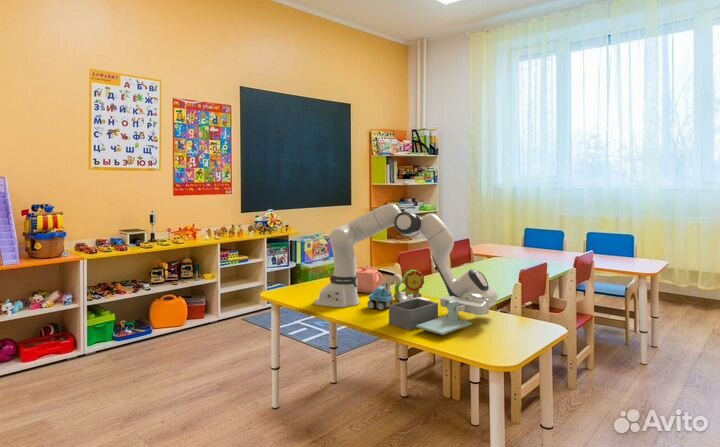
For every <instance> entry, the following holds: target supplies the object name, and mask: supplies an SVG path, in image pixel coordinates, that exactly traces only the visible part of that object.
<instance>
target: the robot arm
mask: <svg viewBox="0 0 720 447" xmlns="http://www.w3.org/2000/svg"><path fill="white" fill-rule="evenodd" d="M391 227H394V228H395V230H396V232H398V233H399V234H402V235H403V236H407V237H414V236H417V235H419V234H421V235H422V236H423V237H424V238H425V239H426V241H427V242H428V244H429V245H430V248H431V252H432V254H431V255H432V256H431V257H432V261H433V263H434V265H435V268H436V269H437V271H438V273H439V275H440V277H441V279H442V281H443V283H444V285H445V288H446V290H447V293H448V296H444V297H440V306H441V307H442V308H446V309H447V310H448V302H450V301H453V300H455V301H458V306H456V307H454V311H456V312H458V313H459V312H463V313H467V314H471V315H475V316H483V315H484V316H485V315H489V313H490V308H491V307H493V306H494V305H495V304H496V303H497V301H498V293H497V291H496V290H495V289H494V288H493V287H492V286H490V285H489V284H488V281H487V278H486V276H485V274H483V273H482V272H481V271H479V270H477V269H469V270H468V271H466V272H465V273H463V274H462V275H461V276H460V277H459V278H457V279H456V277H455V275H454V274H453V271H452V269H451V267H450V266H449V256H450V254H451V253H452V251H453V249H454V248H453V247H454V245H455V238H454V236H453V233H452V232H451V231H450V229H449V228H448V226H446V224H445V223H444V222H443V220H442V219H441V218H439V216H437V215H436V214H435V213H433V212H432V213H427V214H424V215H422V216H419V215H417V214H416V213H414V212H411V211H401V209H400V207H398V205H397V204H395V203H388V204H384V205H382V206H378V207H376V208H374V209H372V210H371V211H369V212H367V213H365V214H363V215H360V216H359V217H357V218H355V219H354V220H352V221H350V222H347V223H346V224H344V225H341V226H337V227H335V228H333V230H332V231H331V233H330V234H329V243H330V245H331V251H332V258H333V269H334V270H333V273H332V274H331V275H330V277H329V280H330V282H329V283H328V284H327V285H325V287H323V288H322V289H321V290H320V292H319V294H318V296H319V297H318V298H316V299H315V301H314V305H315V306H322V307H330V308H331V307H332V308H341V309H342V308H347V307H353V306H356V305H359V304H360V303H361V302H360V299H359V293H357V275H356V269H357V259H356V258H357V257H356V256H355V249H354V245H356V244H358V243H360V242H362V241H364V240H365V239H368V238H370V237H373V236H376V235H377V234H380V233H381V232H383V231H384V230H386V229H390V228H391Z"/></svg>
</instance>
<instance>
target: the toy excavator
mask: <svg viewBox="0 0 720 447" xmlns="http://www.w3.org/2000/svg"><path fill="white" fill-rule="evenodd" d="M402 278H403V276H402V275H401V274H399V273H396V274H393V276H391V277H390V278H387V279H386V280H385V282H384V286H382V285H381V287H378V288H376V289H374V290H373V292H372V293H369V295H368V299H369V300H368V301H367V308H368V309H375V308H376V309H378V310H380V311H381V312H382V311H384V310H386V309H387V308H389V305H392V304H393V300H394V295H392V291H391V284H393V283H394V282H396V283H397V285H399V284H400V285H401V284H403V283H402V281H403V279H402ZM396 283H395V284H396Z"/></svg>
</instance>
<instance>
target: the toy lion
mask: <svg viewBox="0 0 720 447" xmlns="http://www.w3.org/2000/svg"><path fill="white" fill-rule="evenodd" d="M402 279H403V281H402V283H401V284H404V285H405V286H404V288H403V289H402V290H401V291H400V288H399V287H400V286H401V284H399V285H397V283H395V285H394V294H393V299H395V300H397V301H399V302H400V292H405V294H406V297H407V296H408V295H411V294H412V295H413V297H414V298H418V297H422V293H420V289H422V288H423V285H424V284H425V276H424V275H423V273H422V272H420V271H418V270H416V269H410V270H409V271H406V272H405V273H404V275H403V276H402Z"/></svg>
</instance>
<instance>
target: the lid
mask: <svg viewBox="0 0 720 447" xmlns="http://www.w3.org/2000/svg"><path fill="white" fill-rule="evenodd" d="M456 306H458V301H455V300H453V301H450V302H448V309H447V311H448V314H447V315H444V316H441V317H438V318H437V319H434V320H431V321H428V322H425V323H422V324H419V325H416V327H417V328H416V329H421V330H425V331H428V332H431V333H435V334H439V335H443V336H444V335H446V334H449V333H451V332H454V331H456V330H460V329H463V328H465V327H468V326H471V325H472V322H471V321H469V320H463V319H460V318H459V311H458V312H456V311H454V307H456Z"/></svg>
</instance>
